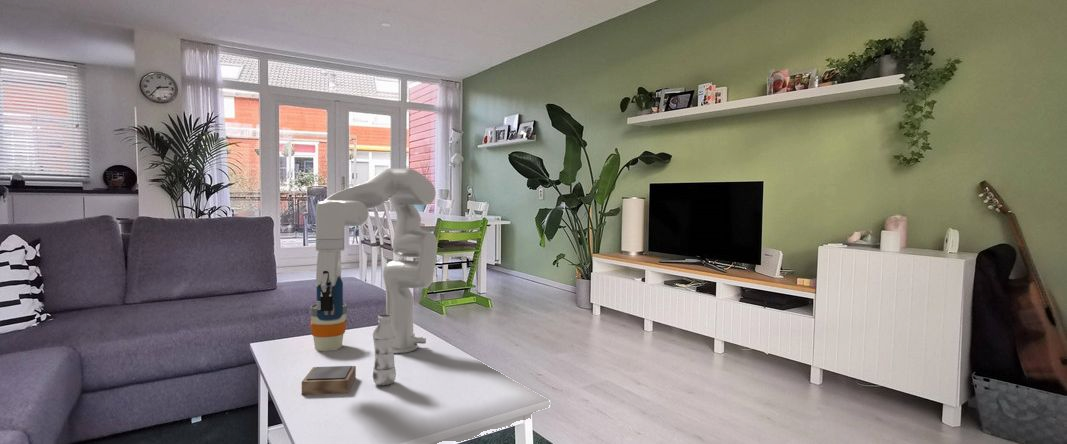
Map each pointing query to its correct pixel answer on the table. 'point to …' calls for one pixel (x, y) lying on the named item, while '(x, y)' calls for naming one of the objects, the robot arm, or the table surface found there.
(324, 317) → the soda can
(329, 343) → the reusable coffee cup
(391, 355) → the plastic bottle
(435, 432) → the table surface
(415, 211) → the robot arm
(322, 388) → the walnut base
